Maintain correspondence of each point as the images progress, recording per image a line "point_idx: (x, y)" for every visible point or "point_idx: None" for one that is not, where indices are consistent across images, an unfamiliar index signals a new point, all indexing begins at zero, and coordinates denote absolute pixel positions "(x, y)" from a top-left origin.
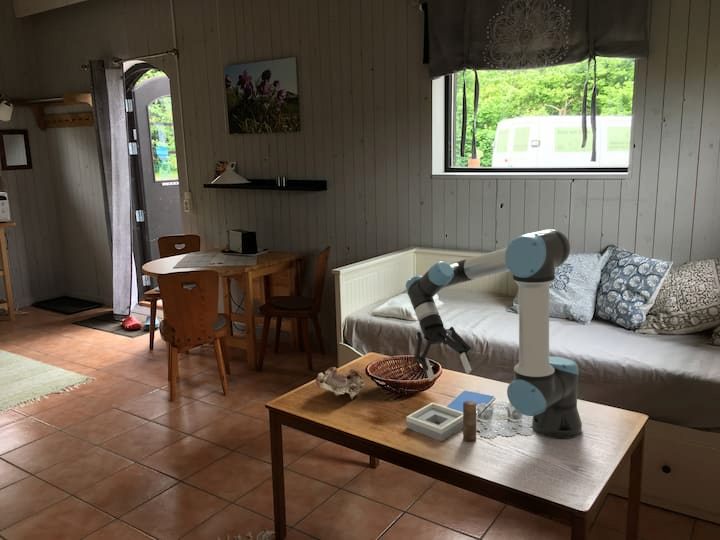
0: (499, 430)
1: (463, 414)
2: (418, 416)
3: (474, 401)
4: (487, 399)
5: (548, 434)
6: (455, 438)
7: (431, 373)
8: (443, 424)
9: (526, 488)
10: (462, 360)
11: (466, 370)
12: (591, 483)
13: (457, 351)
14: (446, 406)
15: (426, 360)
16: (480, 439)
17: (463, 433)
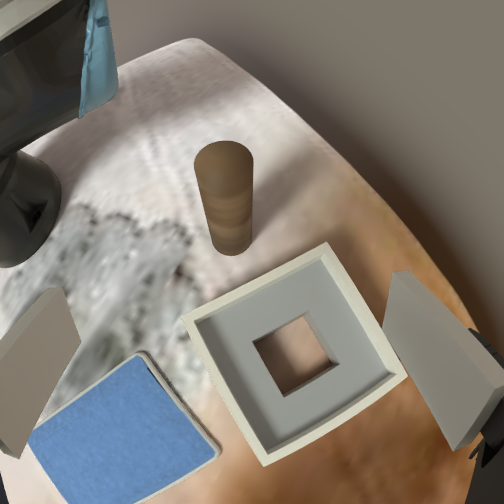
0: (121, 253)
1: (252, 192)
2: (350, 399)
3: (86, 450)
4: (47, 436)
5: (56, 179)
6: (269, 258)
7: (424, 286)
8: (289, 307)
9: (231, 68)
10: (28, 405)
11: (66, 343)
12: (135, 64)
13: (2, 495)
14: (191, 472)
15: (501, 371)
16: (201, 226)
17: (251, 230)
